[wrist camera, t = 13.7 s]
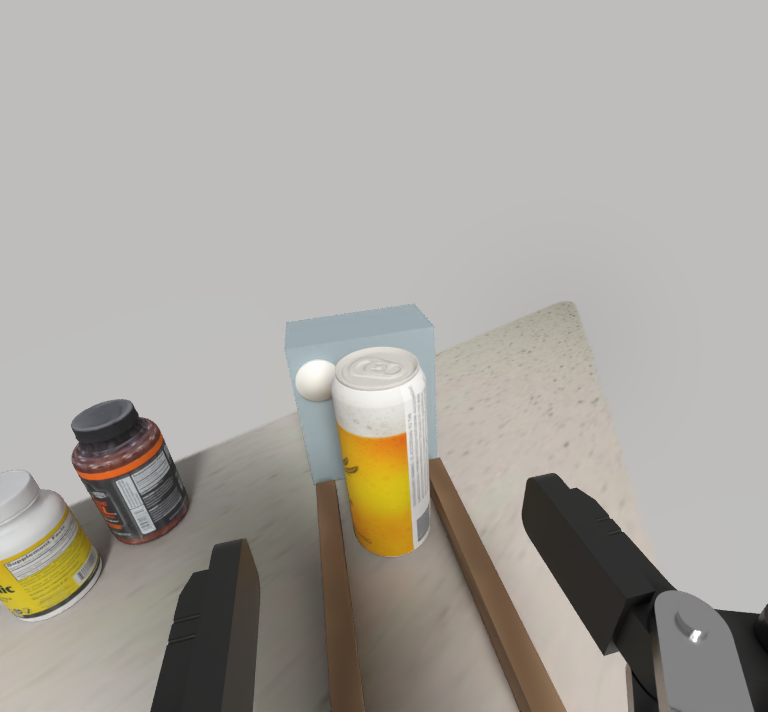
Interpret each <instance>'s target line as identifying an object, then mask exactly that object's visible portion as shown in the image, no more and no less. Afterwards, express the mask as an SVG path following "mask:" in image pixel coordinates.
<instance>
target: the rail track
mask: <svg viewBox="0 0 768 712" xmlns="http://www.w3.org/2000/svg"><path fill="white" fill-rule="evenodd" d="M429 486H430V494H431V497H432V499H433V502H434V504H435V506H436V509H437V511H438V514H439V516H440V519H441V521H442V523H443V526H444V528H445V531H446V533H447V535H448V538H449V540H450V543H451V545H452V547H453V550H454V552H455V555H456V557H457V560H458V562H459V564H460V567H461V569H462V572H463V574H464V576H465V579H466V581H467V584H468V586H469V589H470V591H471V593H472V596H473V598H474V601H475V603H476V605H477V608H478V610H479V613H480V615H481V617H482V620H483V622H484V625H485V627H486V630H487V632H488V634H489V637H490V639H491V642H492V644H493V646H494V649H495V651H496V654H497V656H498V659H499V661H500V663H501V666H502V668H503V671H504V673H505V675H506V678H507V680H508V683H509V685H510V687H511V690H512V692H513V695H514V697H515V700H516V702H517V704H518V707H519V709H520V712H567V711H566V709H565V707H564V705H563V703H562V701H561V699H560V697H559V695H558V693H557V691H556V689H555V687H554V685H553V683H552V681H551V679H550V677H549V675H548V673H547V671H546V669H545V667H544V665H543V663H542V661H541V659H540V657H539V655H538V653H537V651H536V649H535V647H534V645H533V643H532V641H531V639H530V637H529V635H528V633H527V631H526V629H525V627H524V625H523V623H522V621H521V619H520V617H519V615H518V613H517V611H516V609H515V607H514V605H513V603H512V601H511V599H510V597H509V595H508V593H507V591H506V589H505V587H504V585H503V583H502V581H501V579H500V577H499V575H498V573H497V571H496V569H495V567H494V565H493V563H492V561H491V559H490V557H489V555H488V553H487V551H486V549H485V547H484V545H483V543H482V541H481V539H480V537H479V535H478V533H477V531H476V529H475V527H474V525H473V523H472V521H471V519H470V517H469V515H468V513H467V511H466V509H465V507H464V505H463V503H462V501H461V499H460V497H459V495H458V493H457V491H456V489H455V487H454V485H453V483H452V481H451V479H450V477H449V475H448V473H447V471H446V469H445V467H444V465H443V463H442V461H441V459H440V458H435V459H430V460H429ZM316 491H317V506H318V521H319V536H320V552H321V567H322V582H323V597H324V612H325V627H326V642H327V657H328V672H329V687H330V702H331V712H365V705H364V698H363V690H362V682H361V674H360V667H359V659H358V651H357V643H356V636H355V628H354V620H353V612H352V605H351V597H350V589H349V582H348V574H347V566H346V558H345V551H344V543H343V535H342V527H341V520H340V512H339V504H338V496H337V491H336V486H335V480H330V481H325V482H320V483H316Z"/></svg>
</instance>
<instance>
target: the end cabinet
mask: <svg viewBox="0 0 768 712" xmlns="http://www.w3.org/2000/svg"><path fill="white" fill-rule="evenodd" d="M434 340H435V339H434V326H433V325H432V324H431V322H430V321H429V320H428V319H427V318H426V317H425V315H424V314H423V313H422V312H421V311H420V310H419V309H418V307H417V306H416V305H415V304H408V305H402V306H396V307H388V308H382V309H375V310H368V311H361V312H354V313H348V314H341V315H334V316H327V317H320V318H313V319H307V320H300V321H294V322H287V323H286V337H285V353H286V358H287V363H288V368H289V372H290V376H291V381H292V385H293V390H294V395H295V399H296V404H297V409H298V413H299V418H300V423H301V427H302V432H303V436H304V441H305V446H306V450H307V455H308V459H309V464H310V468H311V473H312V478H313V482H314V485H315V484H316V483H320V482H325V481H330V480H339V479H344V478H346V477H345V471H344V465H343V459H342V453H341V447H340V440H339V434H338V428H337V422H336V416H335V410H334V404H333V398H332V392H331V383H332V380H333V377H334V374H335V367H336V365H337V363H338V362H339V361H340V360H341V359H342V358H343V357H345V356H347V355H348V354H350V353H353V352H355V351H358V350H362V349H366V348H372V347H394V348H400V349H403V350H406V351H409V352H411V353H412V354H414V355H415V356H416V357H417V359H418V361H419V365H420V367H421V369H422V370H423V372H424V374H425V376H426V395H427V425H428V456H429V460H430V459H435V458H437V426H436V382H435V341H434Z"/></svg>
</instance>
